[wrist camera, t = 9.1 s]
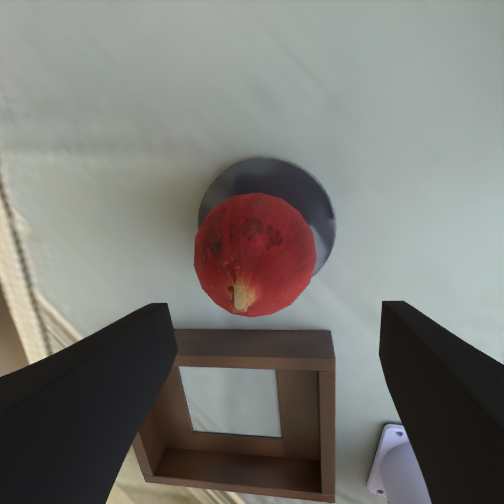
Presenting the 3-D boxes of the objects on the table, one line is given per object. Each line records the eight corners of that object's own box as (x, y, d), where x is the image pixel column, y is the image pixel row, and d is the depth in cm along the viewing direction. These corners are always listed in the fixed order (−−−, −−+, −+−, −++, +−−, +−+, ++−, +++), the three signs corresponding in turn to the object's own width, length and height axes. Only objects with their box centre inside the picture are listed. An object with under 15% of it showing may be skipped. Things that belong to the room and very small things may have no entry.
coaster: (345, 161, 16) (347, 162, 15) (325, 294, 19) (325, 299, 18) (198, 154, 17) (195, 154, 16) (202, 281, 20) (199, 285, 20)
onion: (198, 217, 18) (127, 273, 10) (276, 161, 16) (256, 182, 9) (252, 289, 19) (223, 384, 12) (330, 245, 17) (354, 326, 10)
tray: (330, 330, 20) (335, 358, 17) (331, 466, 25) (335, 503, 22) (121, 328, 23) (99, 352, 20) (159, 450, 28) (145, 482, 25)
